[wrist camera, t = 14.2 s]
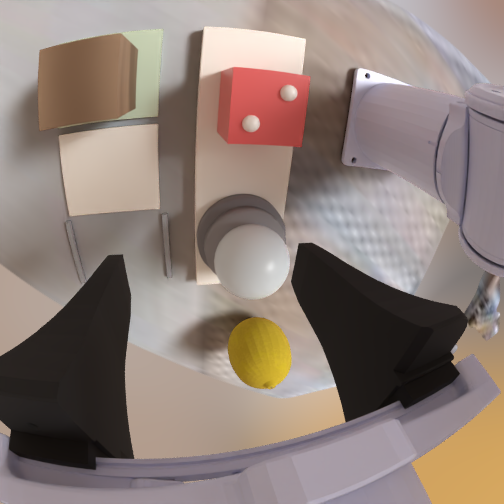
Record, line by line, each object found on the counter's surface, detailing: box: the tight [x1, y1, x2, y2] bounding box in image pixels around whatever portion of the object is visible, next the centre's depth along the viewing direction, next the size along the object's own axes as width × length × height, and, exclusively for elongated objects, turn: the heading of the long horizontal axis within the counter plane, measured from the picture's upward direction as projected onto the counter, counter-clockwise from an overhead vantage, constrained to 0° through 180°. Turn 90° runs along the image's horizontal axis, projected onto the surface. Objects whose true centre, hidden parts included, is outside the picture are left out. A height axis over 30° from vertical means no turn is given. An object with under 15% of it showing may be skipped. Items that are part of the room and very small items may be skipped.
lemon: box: [228, 317, 291, 389], centre depth 25 cm, size 6×6×8 cm
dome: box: [204, 206, 290, 300], centre depth 18 cm, size 6×6×5 cm
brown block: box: [38, 33, 138, 131], centre depth 11 cm, size 4×4×6 cm
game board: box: [58, 27, 306, 285], centre depth 17 cm, size 16×19×2 cm
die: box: [217, 67, 310, 147], centre depth 14 cm, size 4×4×4 cm
